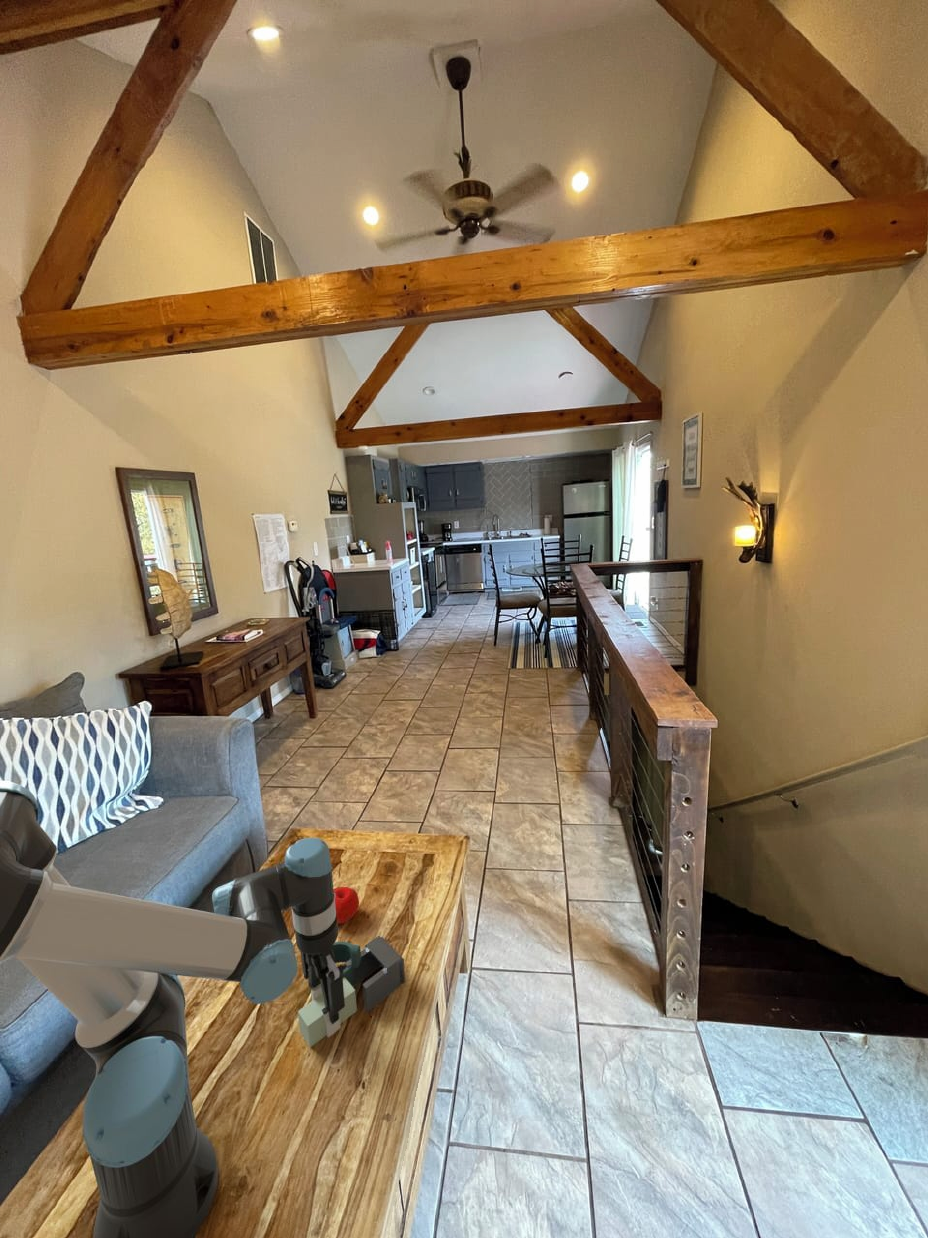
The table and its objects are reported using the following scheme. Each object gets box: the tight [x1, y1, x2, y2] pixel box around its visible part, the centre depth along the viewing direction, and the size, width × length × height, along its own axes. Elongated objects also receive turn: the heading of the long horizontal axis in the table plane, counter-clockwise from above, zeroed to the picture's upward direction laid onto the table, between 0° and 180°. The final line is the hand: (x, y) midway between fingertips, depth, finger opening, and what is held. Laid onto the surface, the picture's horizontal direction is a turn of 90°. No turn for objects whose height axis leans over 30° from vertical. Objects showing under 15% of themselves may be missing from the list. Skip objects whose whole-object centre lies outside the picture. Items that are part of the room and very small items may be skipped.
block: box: [297, 977, 358, 1049], centre depth 97 cm, size 10×4×5 cm, turn 134°
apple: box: [333, 886, 360, 924], centre depth 122 cm, size 8×8×7 cm
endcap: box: [344, 935, 406, 1013], centre depth 105 cm, size 9×8×7 cm
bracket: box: [333, 941, 362, 988], centre depth 105 cm, size 9×9×9 cm
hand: (327, 1022), depth 98 cm, fingers open, 4 cm apart
